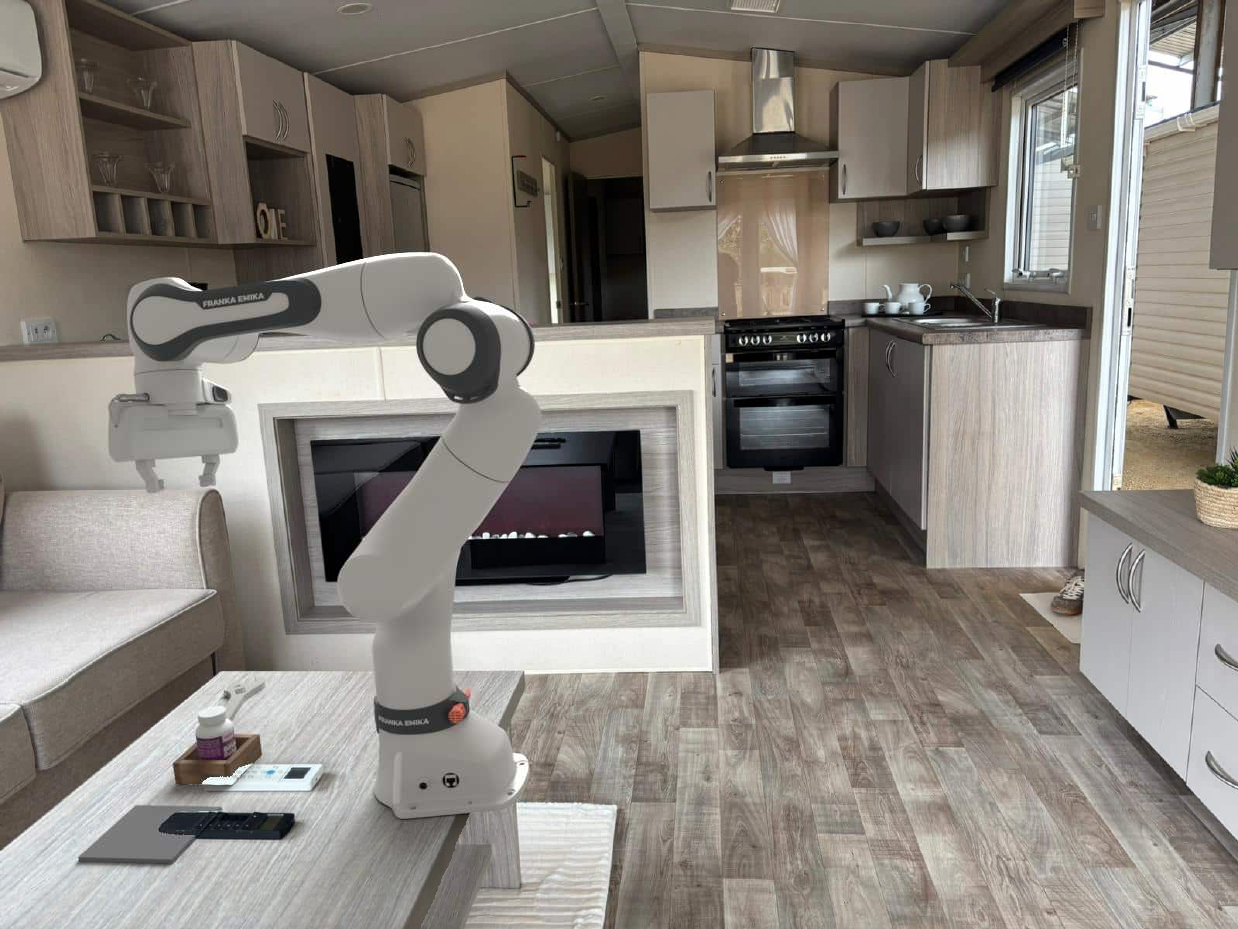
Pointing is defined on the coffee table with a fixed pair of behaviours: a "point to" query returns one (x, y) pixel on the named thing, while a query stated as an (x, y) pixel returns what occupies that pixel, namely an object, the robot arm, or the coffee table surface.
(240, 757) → the walnut collar
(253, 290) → the robot arm
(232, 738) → the pill bottle
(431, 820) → the coffee table surface
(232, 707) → the adjustable wrench
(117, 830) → the charcoal mat
